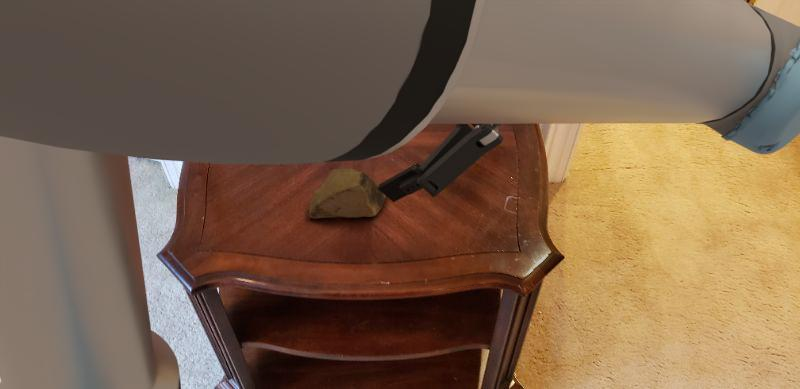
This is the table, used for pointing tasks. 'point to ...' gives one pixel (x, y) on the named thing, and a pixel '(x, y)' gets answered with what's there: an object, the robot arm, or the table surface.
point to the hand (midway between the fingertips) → (399, 155)
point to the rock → (346, 196)
